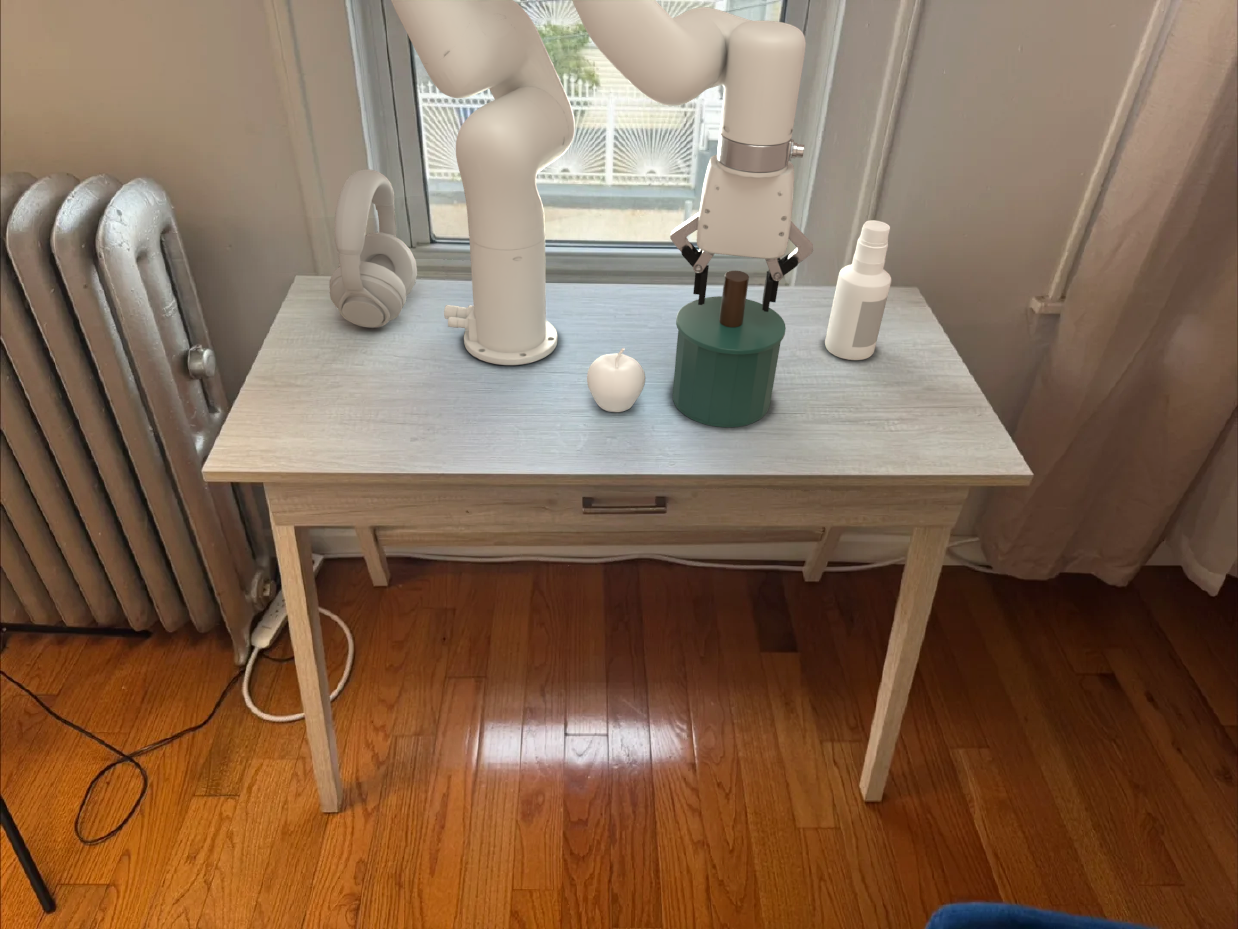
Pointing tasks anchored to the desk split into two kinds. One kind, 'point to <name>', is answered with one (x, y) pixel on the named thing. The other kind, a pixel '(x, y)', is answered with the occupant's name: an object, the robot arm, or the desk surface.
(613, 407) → the plain white apple
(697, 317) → the lid
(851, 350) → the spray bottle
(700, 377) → the pot
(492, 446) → the desk surface
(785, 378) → the desk surface
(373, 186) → the headphones
